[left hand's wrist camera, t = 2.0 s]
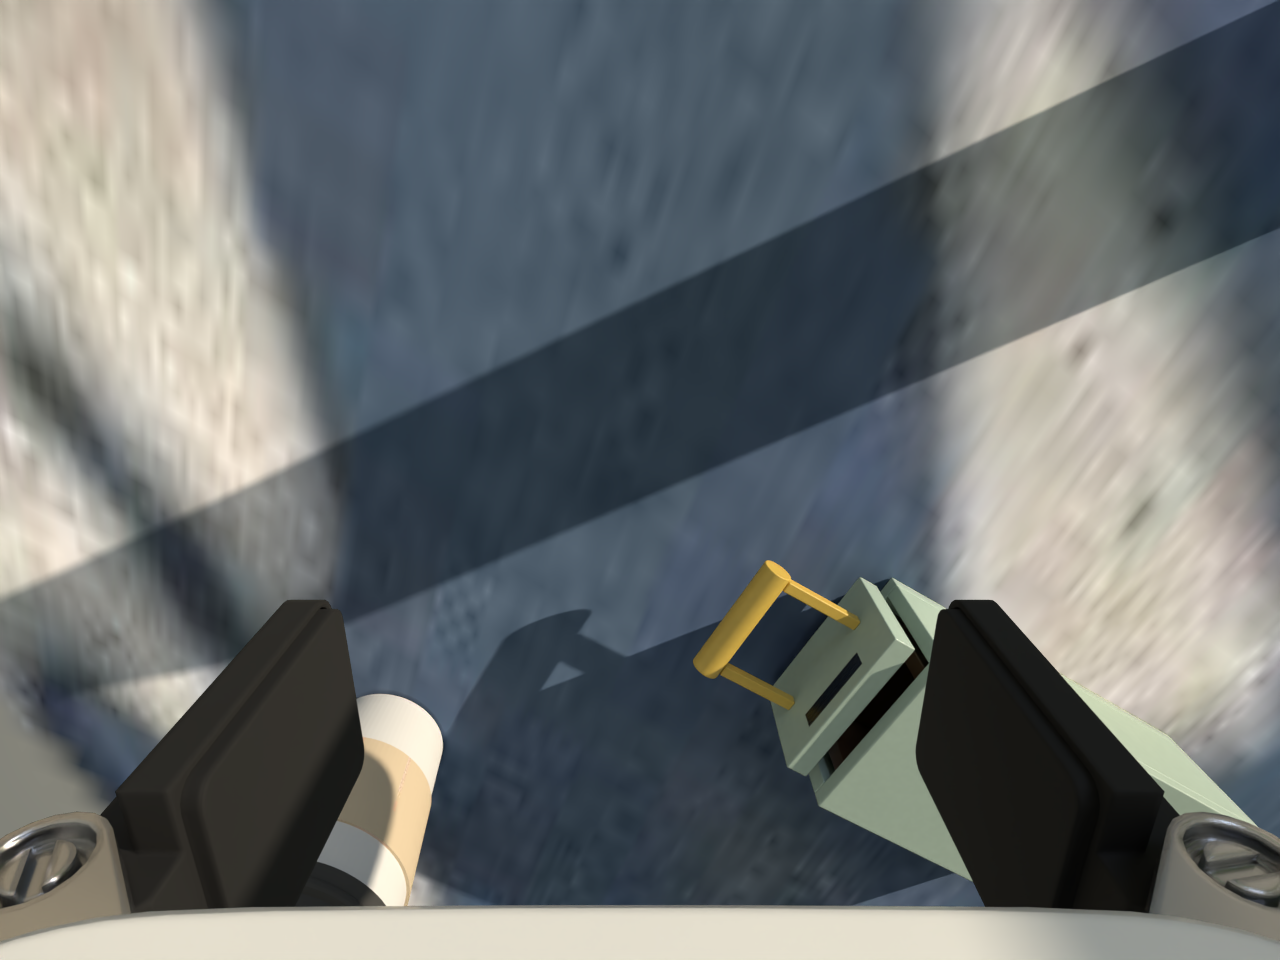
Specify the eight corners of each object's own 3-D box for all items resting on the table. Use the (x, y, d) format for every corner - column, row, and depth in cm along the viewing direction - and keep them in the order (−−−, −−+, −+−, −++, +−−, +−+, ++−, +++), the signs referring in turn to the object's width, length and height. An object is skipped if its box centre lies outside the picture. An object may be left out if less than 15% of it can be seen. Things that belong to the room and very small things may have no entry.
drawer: (680, 646, 41) (685, 717, 36) (768, 524, 39) (790, 579, 33) (1030, 828, 46) (1084, 916, 40) (1131, 730, 43) (1204, 809, 38)
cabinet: (788, 704, 44) (817, 806, 36) (891, 577, 41) (946, 660, 33) (1055, 842, 48) (1131, 960, 40) (1168, 735, 44) (1273, 841, 37)
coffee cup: (330, 802, 46) (195, 1062, 32) (296, 683, 43) (130, 915, 29) (472, 794, 46) (397, 1053, 32) (448, 674, 43) (354, 904, 29)
